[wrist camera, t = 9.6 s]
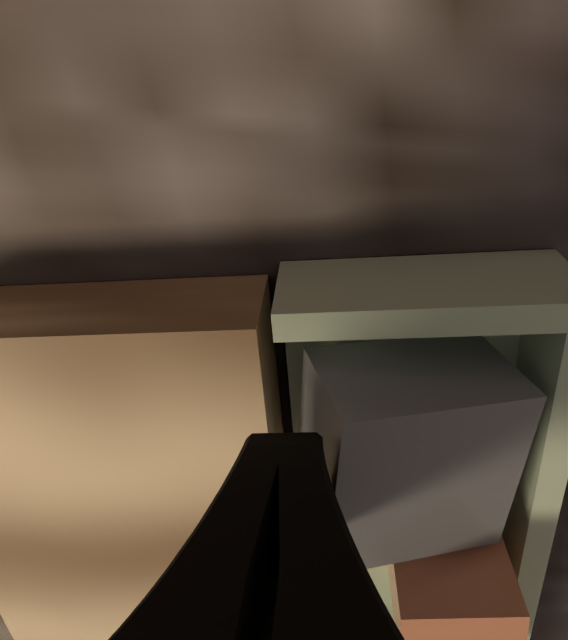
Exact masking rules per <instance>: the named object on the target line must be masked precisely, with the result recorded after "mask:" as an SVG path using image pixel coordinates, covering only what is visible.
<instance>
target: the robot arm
mask: <svg viewBox="0 0 568 640" xmlns="http://www.w3.org/2000/svg"><path fill="white" fill-rule="evenodd" d="M108 640H405V639H404V637H403V636H402V634H401V632H400V631H399V629H398V627H397V625H396V624H395V622H394V620H393V618H392V616H391V615H390V613H389V611H388V609H387V607H386V605H385V604H384V602H383V600H382V598H381V596H380V594H379V592H378V590H377V588H376V587H375V585H374V583H373V581H372V579H371V577H370V575H369V573H368V571H367V568H366V566H365V564H364V562H363V560H362V558H361V556H360V554H359V551H358V549H357V547H356V545H355V543H354V540H353V538H352V536H351V533H350V531H349V529H348V526H347V524H346V521H345V518H344V516H343V513H342V511H341V508H340V506H339V503H338V500H337V498H336V495H335V492H334V489H333V486H332V482H331V479H330V476H329V472H328V469H327V465H326V460H325V455H324V449H323V437H322V436H321V435H319V434H318V433H317V432H297V433H252V434H251V435H249V436H248V437H247V438H246V440H245V442H244V445H243V447H242V449H241V451H240V453H239V455H238V457H237V459H236V461H235V463H234V464H233V466H232V468H231V470H230V472H229V474H228V475H227V477H226V479H225V481H224V482H223V484H222V486H221V488H220V489H219V491H218V493H217V494H216V496H215V497H214V499H213V501H212V502H211V504H210V505H209V507H208V509H207V510H206V512H205V513H204V515H203V517H202V518H201V520H200V521H199V523H198V524H197V526H196V527H195V529H194V530H193V532H192V533H191V535H190V536H189V538H188V539H187V540H186V542H185V543H184V545H183V546H182V548H181V549H180V550H179V552H178V553H177V555H176V556H175V557H174V559H173V560H172V562H171V563H170V565H169V566H168V567H167V569H166V570H165V571H164V573H163V574H162V575H161V577H160V578H159V579H158V580H157V582H156V583H155V584H154V586H153V587H152V588H151V589H150V591H149V592H148V593H147V594H146V596H145V597H144V598H143V599H142V601H141V602H140V603H139V604H138V605H137V607H136V608H135V609H134V610H133V612H132V613H131V614H130V615H129V616H128V618H127V619H126V620H125V621H124V622H123V623H122V625H121V626H120V627H119V628H118V629H117V630H116V631H115V632H114V633H113V635H112V636H111V637H110V638H109V639H108Z"/></svg>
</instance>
